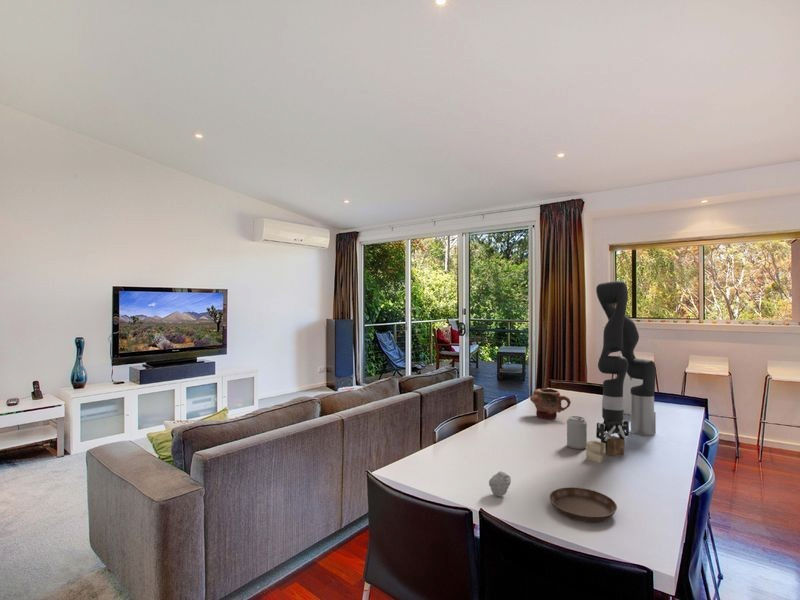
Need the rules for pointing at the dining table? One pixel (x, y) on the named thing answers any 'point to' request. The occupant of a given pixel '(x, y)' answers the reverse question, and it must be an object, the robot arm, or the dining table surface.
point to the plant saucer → (583, 504)
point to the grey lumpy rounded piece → (500, 483)
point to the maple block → (595, 451)
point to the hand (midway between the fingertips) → (612, 448)
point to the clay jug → (548, 403)
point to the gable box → (629, 391)
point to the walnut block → (615, 446)
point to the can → (576, 432)
